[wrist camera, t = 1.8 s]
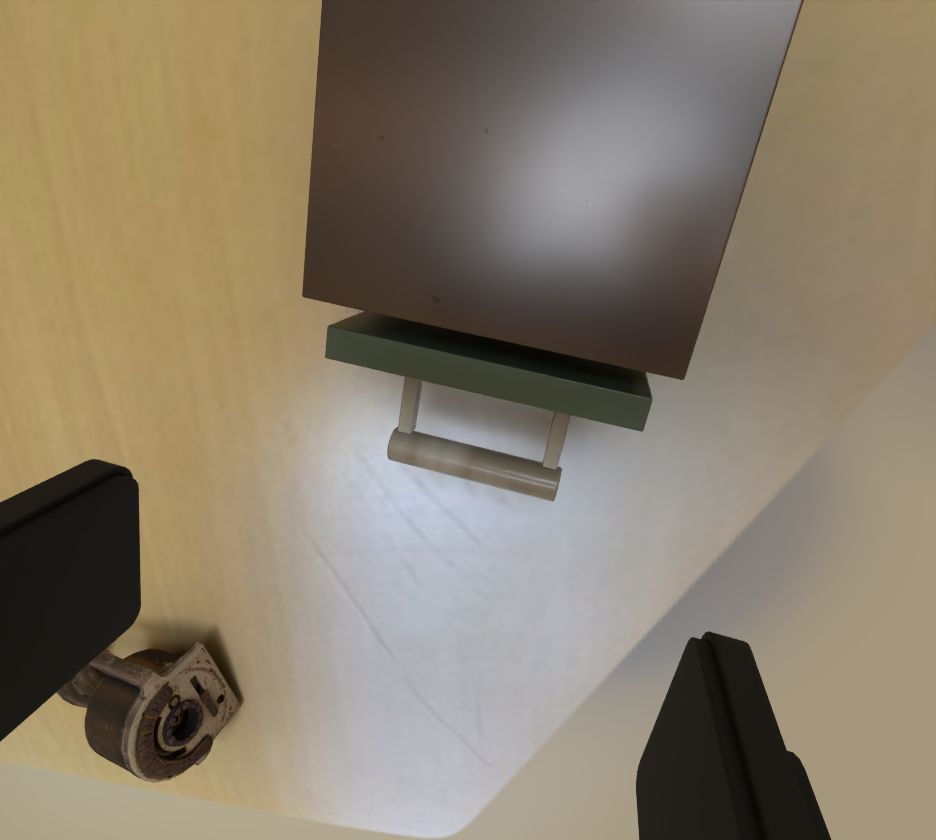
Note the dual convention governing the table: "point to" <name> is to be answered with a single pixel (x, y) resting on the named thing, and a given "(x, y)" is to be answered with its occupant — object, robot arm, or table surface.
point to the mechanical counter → (153, 709)
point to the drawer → (488, 393)
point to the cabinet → (538, 164)
